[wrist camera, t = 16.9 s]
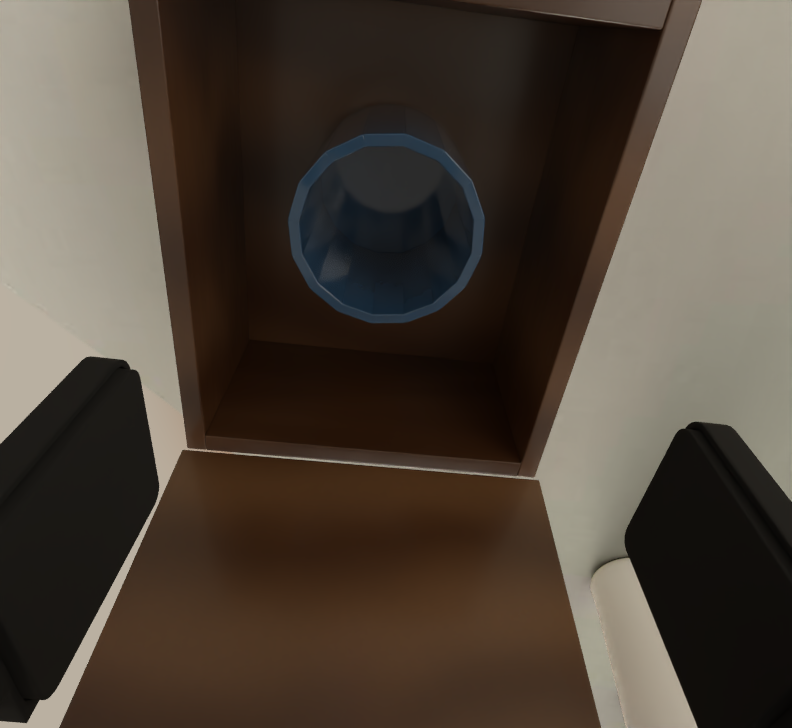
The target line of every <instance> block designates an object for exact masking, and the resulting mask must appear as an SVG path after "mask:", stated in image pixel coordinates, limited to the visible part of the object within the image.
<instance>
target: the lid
mask: <svg viewBox="0 0 792 728" xmlns="http://www.w3.org/2000/svg"><path fill="white" fill-rule="evenodd" d="M59 728H601V725H600V721H599V717H598V714H597V710H596V706H595V702H594V698H593V694H592V690H591V686H590V682H589V678H588V674H587V670H586V666H585V662H584V658H583V654H582V650H581V646H580V642H579V638H578V634H577V630H576V626H575V622H574V618H573V614H572V610H571V606H570V602H569V598H568V594H567V590H566V586H565V582H564V578H563V574H562V570H561V566H560V562H559V558H558V554H557V550H556V546H555V542H554V538H553V534H552V530H551V526H550V522H549V518H548V514H547V510H546V506H545V502H544V499H543V495H542V491H541V487H540V483H539V481H538V480H528V479H516V478H505V477H493V476H481V475H470V474H458V473H446V472H435V471H423V470H411V469H400V468H388V467H376V466H365V465H353V464H341V463H330V462H318V461H306V460H295V459H283V458H271V457H260V456H248V455H236V454H225V453H213V452H200V451H190V450H182V452H181V455H180V457H179V459H178V461H177V464H176V466H175V468H174V470H173V473H172V475H171V477H170V480H169V482H168V484H167V486H166V488H165V491H164V493H163V495H162V497H161V500H160V502H159V505H158V507H157V509H156V511H155V513H154V516H153V518H152V520H151V522H150V525H149V527H148V529H147V531H146V534H145V536H144V538H143V540H142V543H141V545H140V547H139V549H138V552H137V554H136V556H135V558H134V561H133V563H132V565H131V568H130V570H129V572H128V574H127V576H126V579H125V581H124V584H123V585H122V588H121V590H120V592H119V594H118V597H117V599H116V601H115V603H114V606H113V608H112V610H111V613H110V615H109V617H108V619H107V621H106V624H105V626H104V628H103V630H102V633H101V635H100V637H99V640H98V642H97V644H96V646H95V649H94V651H93V653H92V656H91V658H90V660H89V662H88V664H87V667H86V669H85V671H84V673H83V676H82V678H81V680H80V682H79V685H78V687H77V689H76V691H75V694H74V696H73V698H72V700H71V703H70V705H69V707H68V710H67V712H66V714H65V716H64V718H63V721H62V723H61V725H60V727H59Z"/></svg>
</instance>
